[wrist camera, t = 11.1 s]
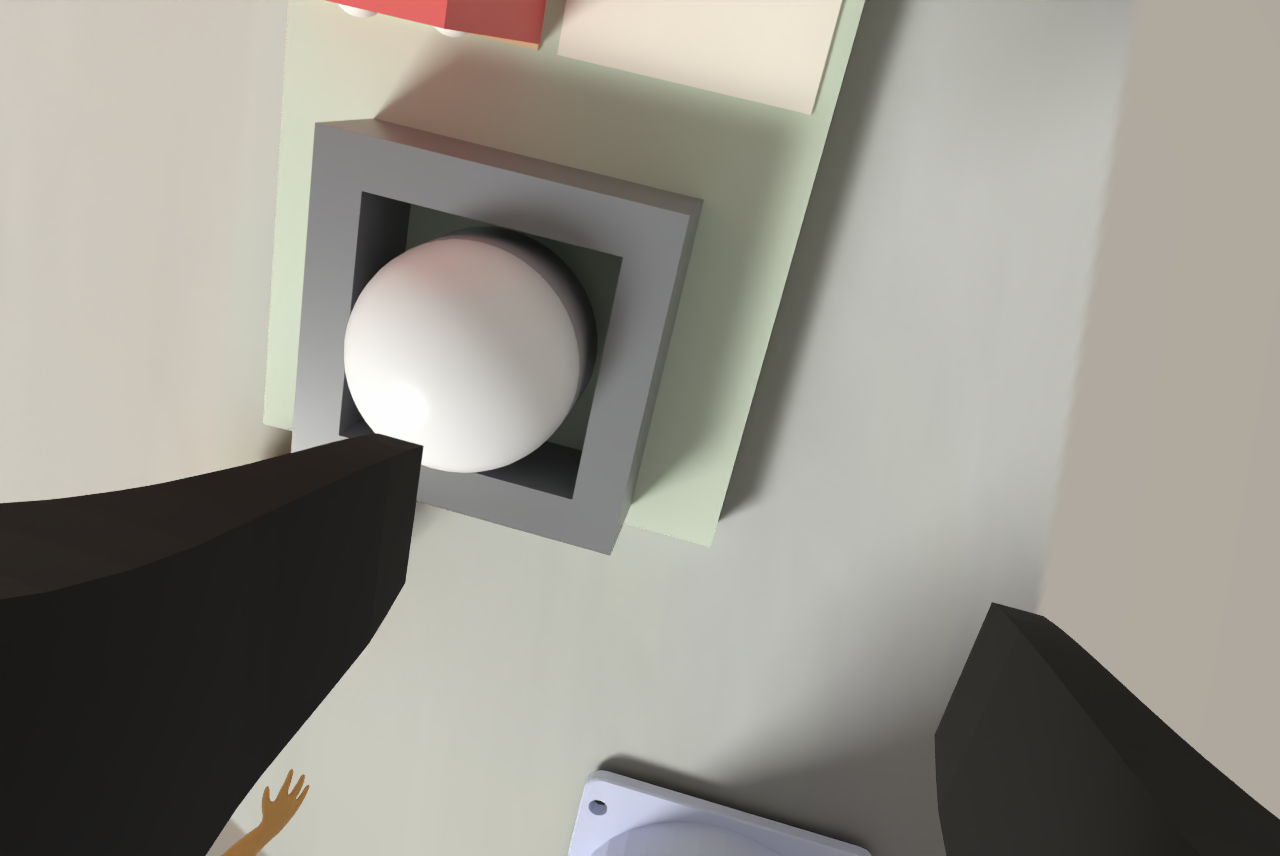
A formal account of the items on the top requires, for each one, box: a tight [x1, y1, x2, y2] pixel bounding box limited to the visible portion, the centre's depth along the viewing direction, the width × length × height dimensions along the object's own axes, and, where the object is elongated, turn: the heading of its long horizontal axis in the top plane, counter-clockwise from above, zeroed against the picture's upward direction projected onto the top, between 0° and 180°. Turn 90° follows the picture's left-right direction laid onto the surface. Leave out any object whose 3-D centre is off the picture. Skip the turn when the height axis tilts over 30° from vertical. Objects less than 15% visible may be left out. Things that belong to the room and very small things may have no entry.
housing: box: [291, 118, 704, 555], centre depth 18 cm, size 7×7×2 cm
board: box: [263, 0, 865, 547], centre depth 19 cm, size 16×11×1 cm
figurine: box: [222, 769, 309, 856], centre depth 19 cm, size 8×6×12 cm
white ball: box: [344, 227, 597, 473], centre depth 17 cm, size 4×4×4 cm
